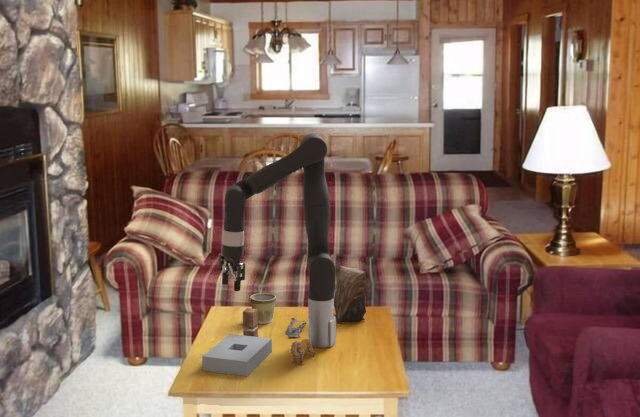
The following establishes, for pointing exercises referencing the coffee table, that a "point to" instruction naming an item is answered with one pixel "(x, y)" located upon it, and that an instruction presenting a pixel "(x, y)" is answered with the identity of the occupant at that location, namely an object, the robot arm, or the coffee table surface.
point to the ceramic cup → (263, 306)
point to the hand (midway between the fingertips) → (230, 287)
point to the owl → (350, 295)
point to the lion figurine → (301, 349)
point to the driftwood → (294, 329)
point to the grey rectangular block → (237, 354)
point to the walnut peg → (250, 322)
